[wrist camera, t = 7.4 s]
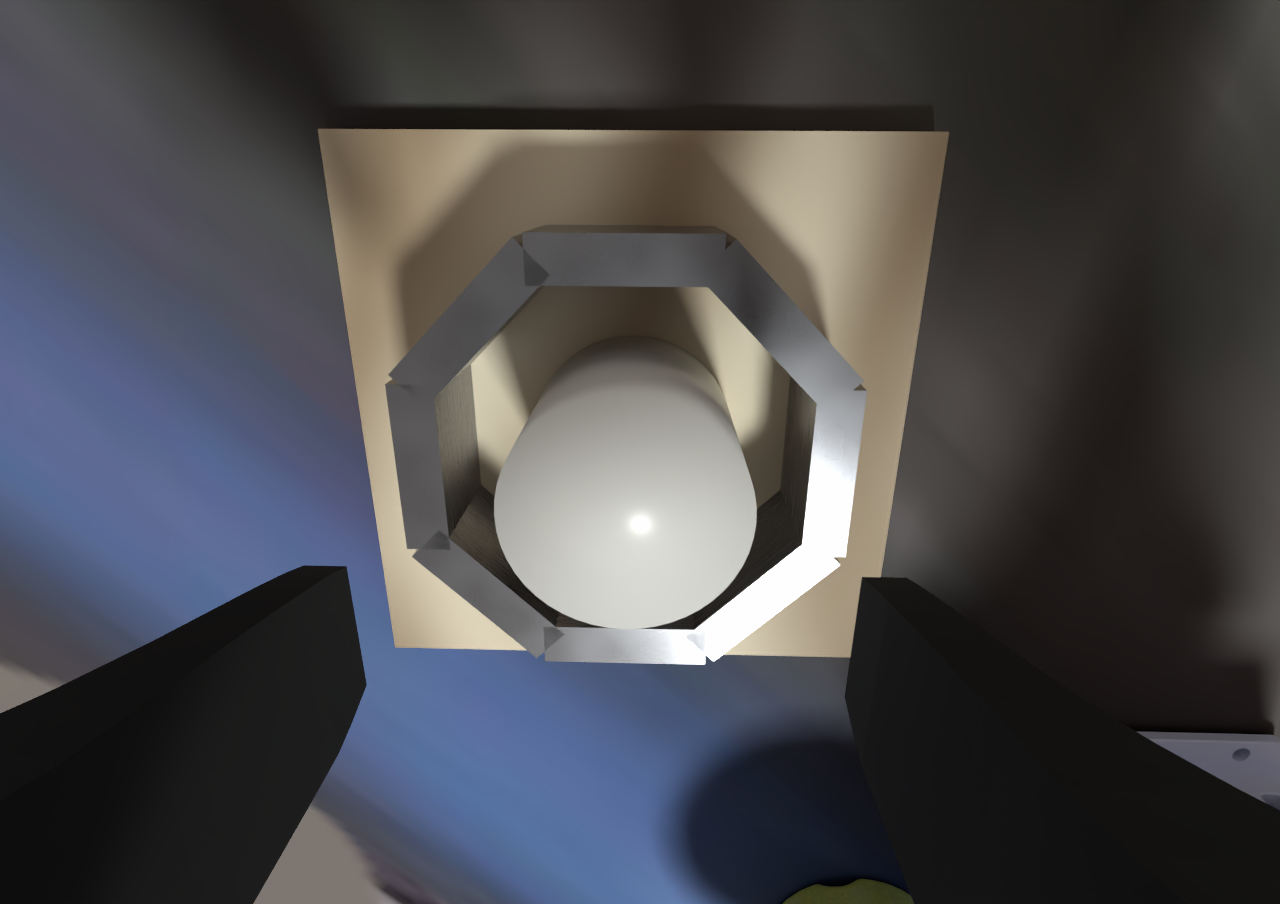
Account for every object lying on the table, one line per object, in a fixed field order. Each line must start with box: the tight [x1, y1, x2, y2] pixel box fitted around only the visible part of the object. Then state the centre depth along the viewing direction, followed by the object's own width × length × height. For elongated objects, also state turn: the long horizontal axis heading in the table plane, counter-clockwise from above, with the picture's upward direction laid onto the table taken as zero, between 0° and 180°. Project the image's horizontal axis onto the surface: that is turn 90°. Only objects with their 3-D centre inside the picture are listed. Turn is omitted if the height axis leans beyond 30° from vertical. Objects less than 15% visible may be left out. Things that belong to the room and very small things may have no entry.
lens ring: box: [385, 225, 867, 665], centre depth 16 cm, size 10×10×3 cm
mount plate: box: [318, 129, 949, 657], centre depth 18 cm, size 14×14×1 cm
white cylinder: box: [494, 336, 757, 629], centre depth 15 cm, size 5×5×5 cm
